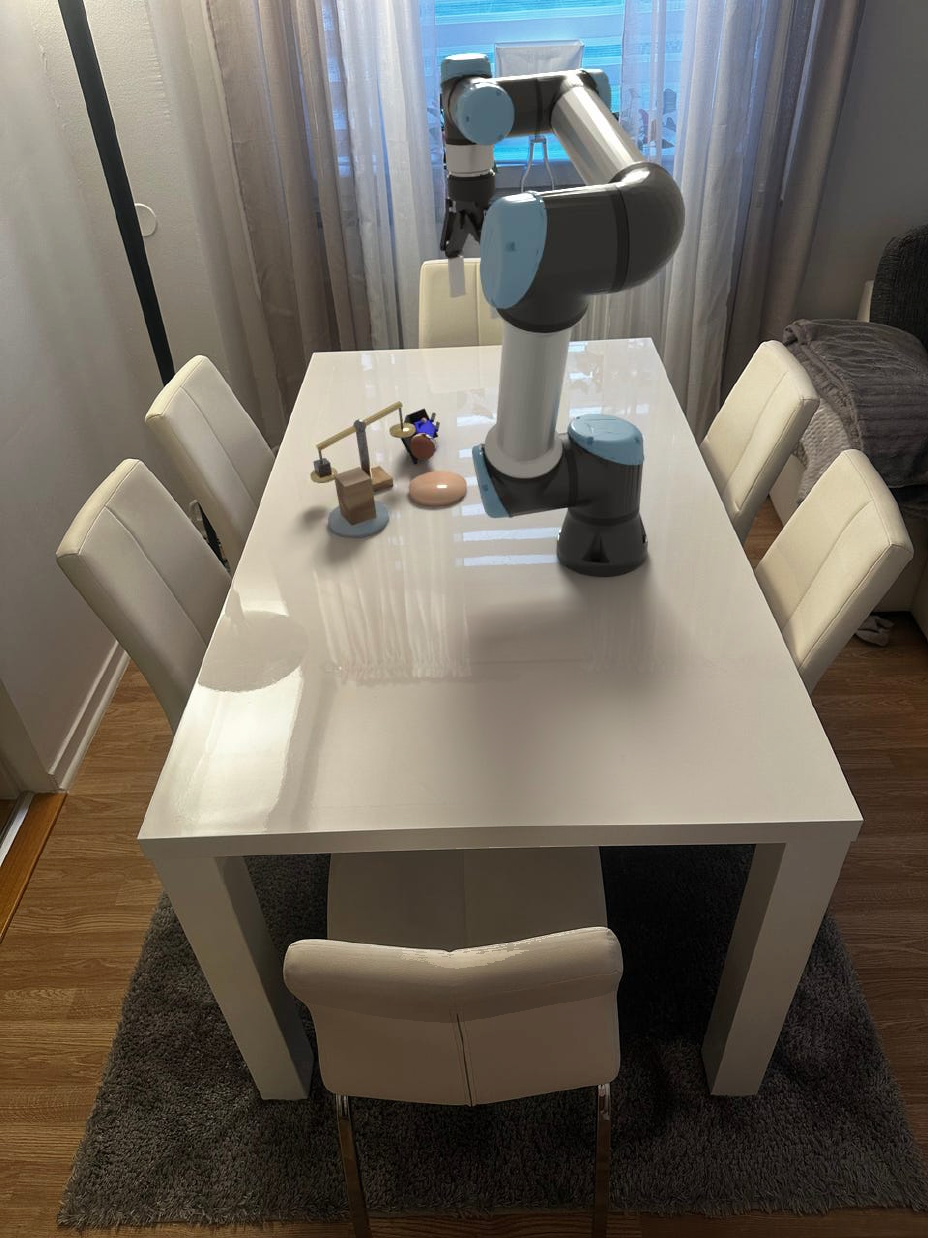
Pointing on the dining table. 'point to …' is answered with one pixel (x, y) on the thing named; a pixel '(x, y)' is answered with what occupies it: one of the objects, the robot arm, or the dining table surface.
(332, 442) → the balance
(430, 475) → the peach glossy dome
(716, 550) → the dining table surface
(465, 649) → the dining table surface
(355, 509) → the block
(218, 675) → the dining table surface
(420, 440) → the character figurine
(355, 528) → the blue gray round dish
